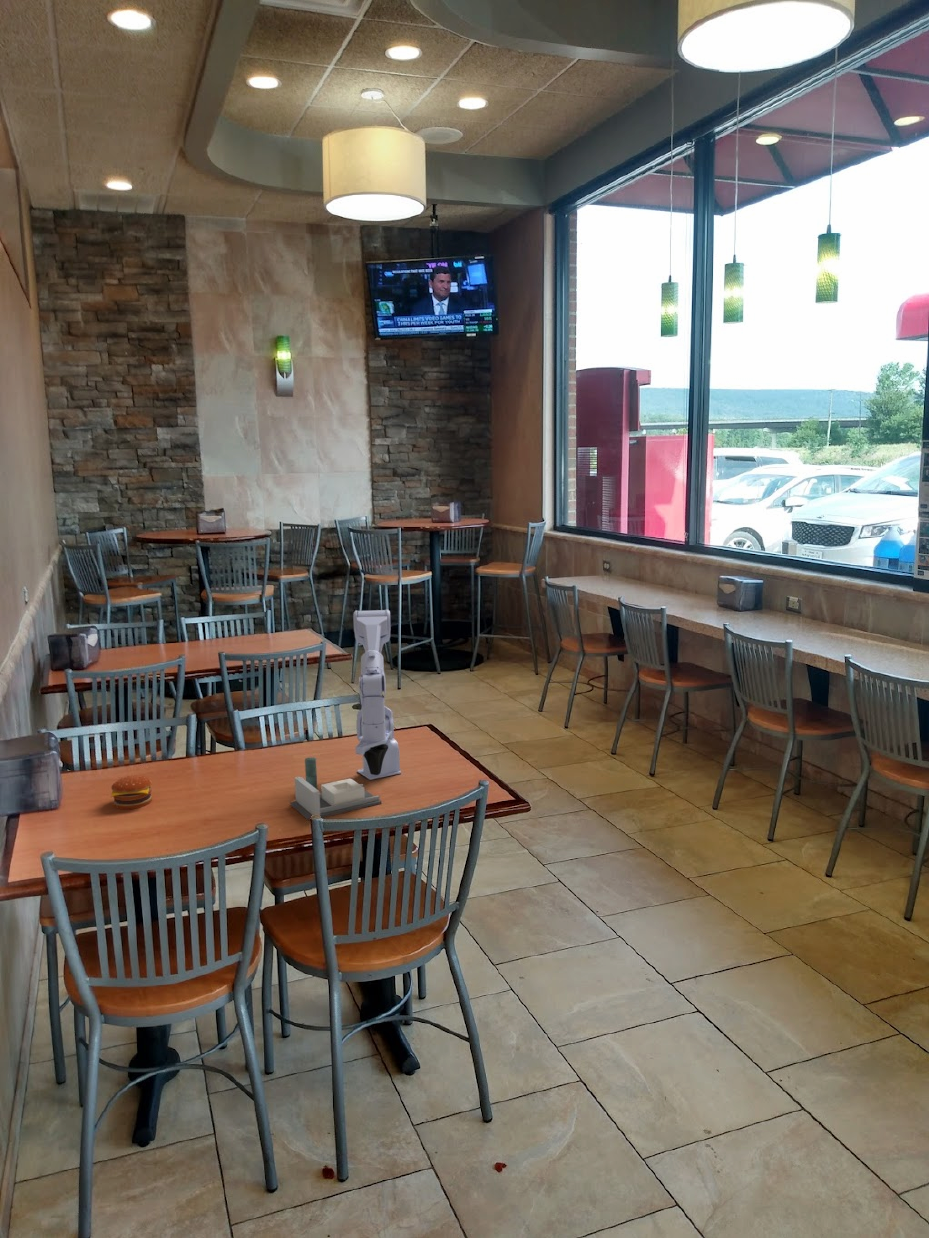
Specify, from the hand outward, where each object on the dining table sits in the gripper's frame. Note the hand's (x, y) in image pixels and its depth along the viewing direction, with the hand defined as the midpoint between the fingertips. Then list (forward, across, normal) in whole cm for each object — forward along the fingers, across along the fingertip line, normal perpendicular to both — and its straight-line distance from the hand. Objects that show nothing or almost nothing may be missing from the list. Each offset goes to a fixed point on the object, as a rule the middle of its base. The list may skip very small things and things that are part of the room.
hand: (375, 773), depth 230 cm
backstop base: (+6, +9, -6) cm, 12 cm away
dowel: (+6, +3, -18) cm, 19 cm away
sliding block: (+5, +7, -5) cm, 10 cm away
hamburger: (+6, +28, -54) cm, 61 cm away
